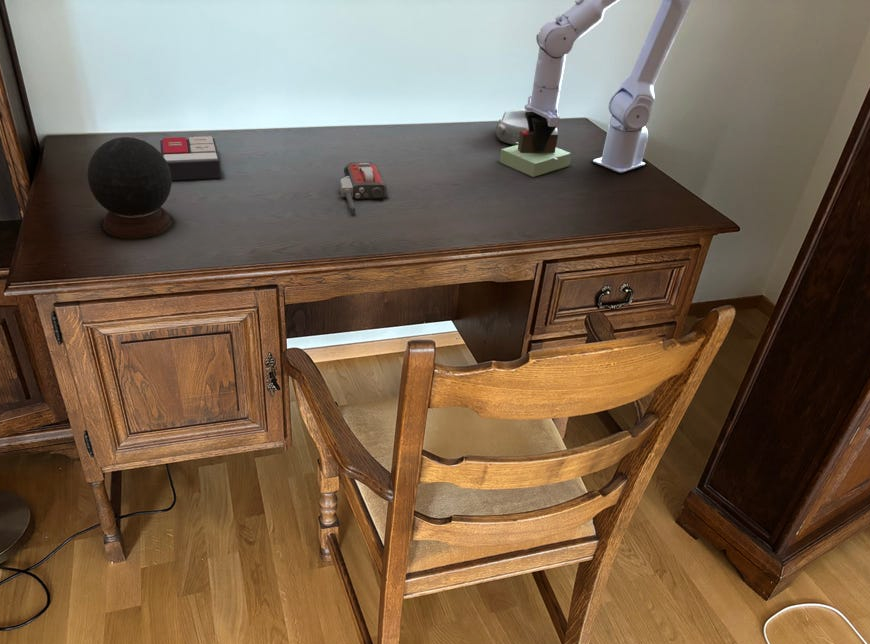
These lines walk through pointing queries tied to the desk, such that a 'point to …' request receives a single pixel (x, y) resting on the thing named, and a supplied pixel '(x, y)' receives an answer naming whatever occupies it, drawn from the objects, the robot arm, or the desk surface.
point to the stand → (534, 160)
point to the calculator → (191, 157)
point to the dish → (512, 126)
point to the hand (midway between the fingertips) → (536, 148)
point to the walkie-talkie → (362, 182)
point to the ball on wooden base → (131, 187)
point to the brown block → (528, 140)
